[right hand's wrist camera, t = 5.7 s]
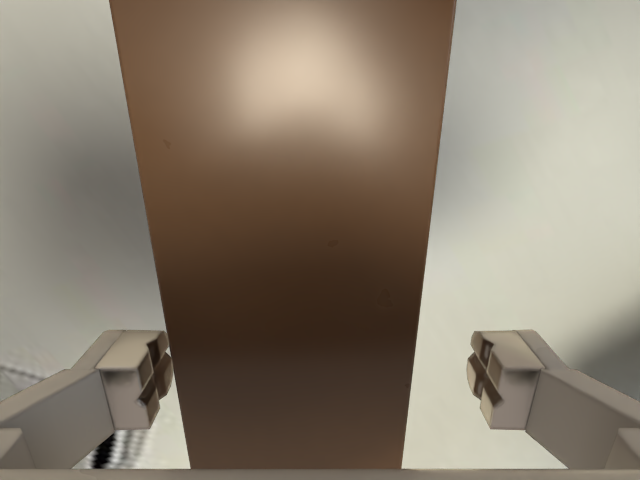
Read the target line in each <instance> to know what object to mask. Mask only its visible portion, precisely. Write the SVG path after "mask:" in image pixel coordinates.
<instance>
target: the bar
mask: <svg viewBox="0 0 640 480" xmlns="http://www.w3.org/2000/svg"><path fill="white" fill-rule="evenodd" d="M456 2H457V0H109V3H110V8H111V14H112V20H113V26H114V31H115V37H116V43H117V48H118V54H119V60H120V66H121V71H122V77H123V83H124V89H125V94H126V100H127V106H128V112H129V117H130V123H131V129H132V134H133V140H134V146H135V152H136V157H137V163H138V169H139V175H140V180H141V186H142V192H143V198H144V203H145V209H146V215H147V220H148V226H149V232H150V238H151V243H152V249H153V255H154V261H155V266H156V272H157V278H158V284H159V289H160V295H161V301H162V306H163V312H164V318H165V324H166V329H167V335H168V341H169V347H170V352H171V358H172V364H173V370H174V375H175V381H176V387H177V393H178V398H179V404H180V410H181V415H182V421H183V427H184V433H185V438H186V444H187V450H188V456H189V461H190V467H191V469H401V466H402V458H403V450H404V441H405V433H406V424H407V416H408V407H409V399H410V390H411V382H412V374H413V365H414V357H415V348H416V340H417V331H418V323H419V314H420V306H421V298H422V289H423V281H424V272H425V264H426V255H427V247H428V238H429V230H430V222H431V213H432V205H433V196H434V188H435V179H436V171H437V162H438V154H439V146H440V137H441V129H442V120H443V112H444V103H445V95H446V86H447V78H448V70H449V61H450V53H451V44H452V36H453V27H454V19H455V10H456Z"/></svg>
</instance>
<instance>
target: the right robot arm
mask: <svg viewBox="0 0 640 480" xmlns="http://www.w3.org/2000/svg"><path fill="white" fill-rule="evenodd" d="M168 346H169V341H168V335H167V333H166V332H165V331H156V330H107V331H104V332H103V333H102V334H101V335H100V336H99V338H98V339H97V340H96V341H95V342H94V343H93V344H92V346H91V347H90V348H89V349H88V350H87V351H86V352H85V354H84V355H83V356H82V357H81V358H80V359H79V360H78V362H77V363H76V364H75V365H74V366H73V367H72V368H71V369H64V370H62V371H60V372H58V373H56V374H54V375H52V376H50V377H48V378H46V379H44V380H42V381H40V382H38V383H36V384H34V385H32V386H30V387H28V388H26V389H24V390H22V391H20V392H19V393H17V394H15V395H13V396H11V397H9V398H7V399H5V400H3V401H1V402H0V480H640V402H639V401H637V400H635V399H633V398H631V397H629V396H627V395H625V394H623V393H621V392H619V391H617V390H615V389H613V388H611V387H609V386H608V385H606V384H604V383H602V382H600V381H598V380H596V379H594V378H592V377H590V376H588V375H586V374H584V373H582V372H580V371H578V370H576V369H569V368H568V367H567V366H566V365H565V364H564V363H563V362H562V360H561V359H560V358H559V357H558V356H557V355H556V354H555V352H554V351H553V350H552V349H551V348H550V347H549V346H548V344H547V343H546V342H545V341H544V340H543V339H542V338H541V336H540V335H539V334H538V333H537V332H536V331H534V330H512V331H474V333H473V335H472V338H471V346H472V348H473V350H474V353H473V354H472V355H471V356H470V357H469V358H468V362H467V379H468V383H469V386H470V389H471V391H472V393H473V395H474V396H476V397H477V398H479V399H480V400H481V404H480V409H481V411H482V413H483V415H484V417H485V419H486V421H487V423H488V425H489V427H490V429H505V430H526V431H525V432H526V433H527V434H529V435H530V436H531V437H532V438H533V439H535V440H536V441H537V442H538V443H539V444H540V445H542V446H543V447H544V448H545V449H546V450H548V451H549V452H550V453H551V454H552V455H554V456H555V457H556V458H557V459H558V460H559V461H561V462H562V463H563V464H564V465H565V466H567V467H568V468H569V469H71V468H72V467H74V466H75V465H76V464H77V463H78V462H79V461H81V460H82V459H83V458H84V457H85V456H87V455H88V454H89V453H90V452H91V451H93V450H94V449H95V448H96V447H97V446H98V445H100V444H101V443H102V442H103V441H104V440H106V439H107V438H108V437H109V436H110V435H112V434H113V433H114V432H115V431H114V430H135V429H150V428H151V426H152V424H153V422H154V420H155V417H156V415H157V413H158V411H159V409H160V404H159V400H160V399H161V398H163V397H164V396H166V395H167V393H168V391H169V389H170V387H171V383H172V378H173V364H172V358H171V357H170V356H169V355H168V354H167V353H166V350H167V348H168Z"/></svg>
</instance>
